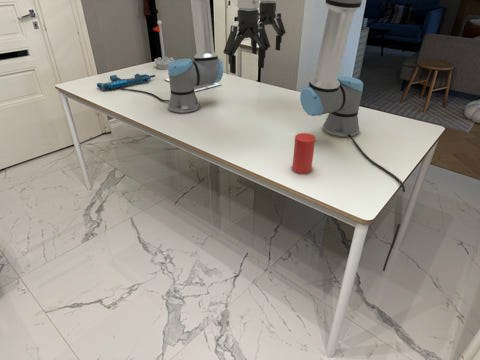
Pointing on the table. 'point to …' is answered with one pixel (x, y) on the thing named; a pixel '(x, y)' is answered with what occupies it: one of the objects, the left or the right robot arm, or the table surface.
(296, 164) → the canister
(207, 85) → the tablet
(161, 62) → the flag stand
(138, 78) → the submachine gun
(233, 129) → the table surface
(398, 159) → the table surface
